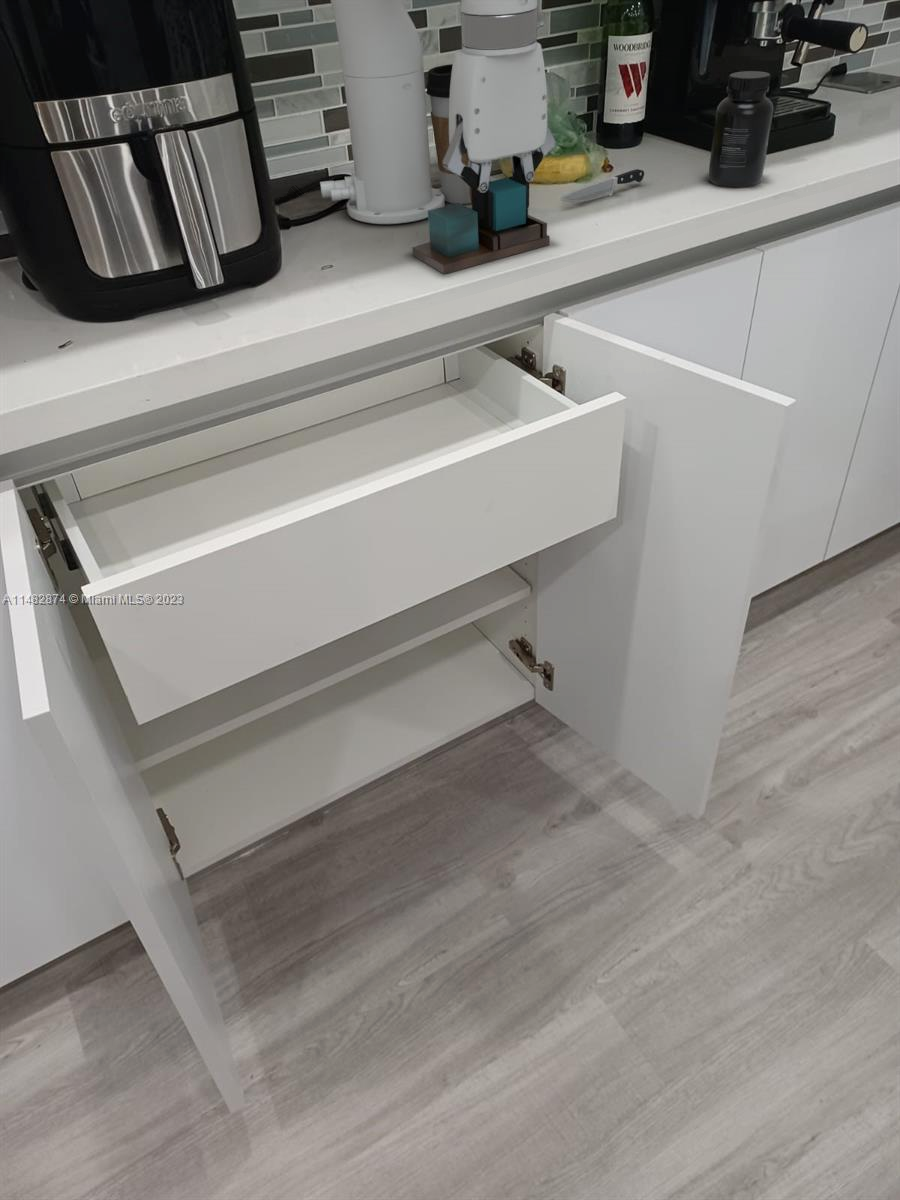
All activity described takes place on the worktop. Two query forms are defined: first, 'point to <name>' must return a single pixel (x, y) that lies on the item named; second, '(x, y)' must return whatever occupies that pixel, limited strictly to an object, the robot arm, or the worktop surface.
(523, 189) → the teal cube
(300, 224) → the worktop surface
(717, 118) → the supplement bottle
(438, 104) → the coffee cup
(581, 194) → the knife
